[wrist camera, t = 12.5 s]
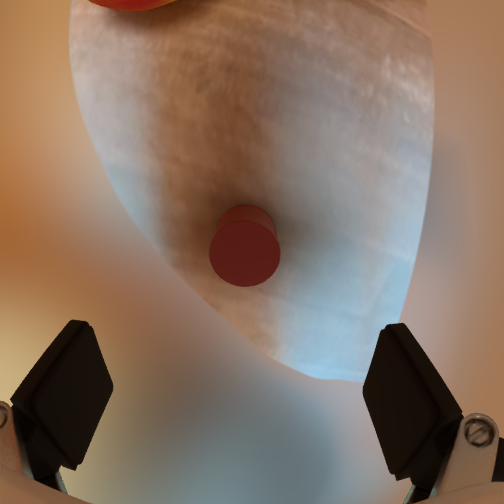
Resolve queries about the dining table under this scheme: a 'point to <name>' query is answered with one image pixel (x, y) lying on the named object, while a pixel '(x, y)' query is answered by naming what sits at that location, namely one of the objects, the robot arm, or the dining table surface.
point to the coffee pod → (245, 246)
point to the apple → (131, 4)
